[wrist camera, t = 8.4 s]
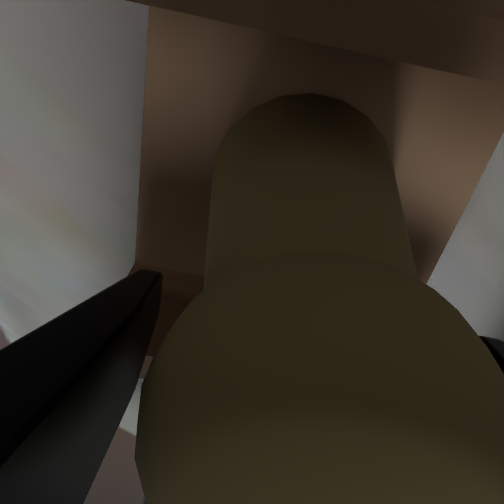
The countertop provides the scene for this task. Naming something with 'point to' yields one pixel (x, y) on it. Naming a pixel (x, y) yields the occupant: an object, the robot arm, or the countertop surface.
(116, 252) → the countertop surface
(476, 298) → the countertop surface
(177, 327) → the olive bottle gourd
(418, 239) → the rack
